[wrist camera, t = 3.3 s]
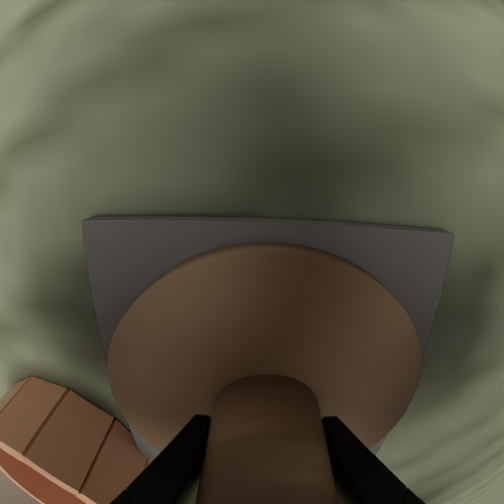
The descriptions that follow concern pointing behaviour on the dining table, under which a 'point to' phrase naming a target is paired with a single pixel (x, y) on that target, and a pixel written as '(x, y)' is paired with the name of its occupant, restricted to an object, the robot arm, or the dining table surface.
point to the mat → (258, 231)
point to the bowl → (64, 446)
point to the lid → (264, 366)
